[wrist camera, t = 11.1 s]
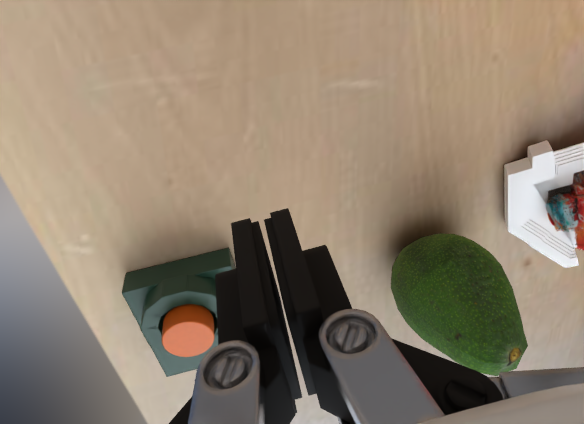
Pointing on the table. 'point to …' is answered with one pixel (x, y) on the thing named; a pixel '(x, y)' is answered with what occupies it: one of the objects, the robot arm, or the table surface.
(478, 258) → the fruit
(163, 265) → the housing
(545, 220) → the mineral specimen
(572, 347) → the table surface
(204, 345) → the button
